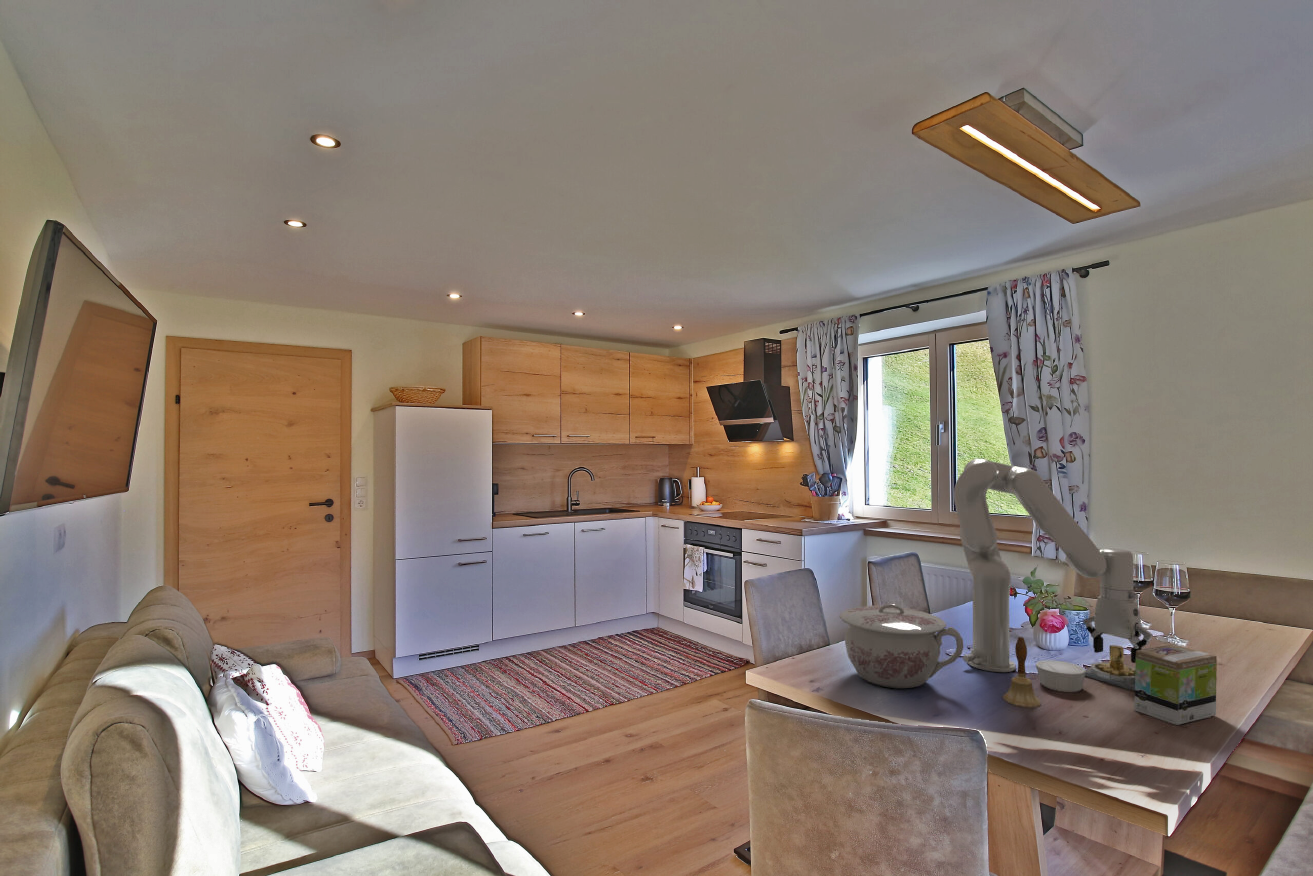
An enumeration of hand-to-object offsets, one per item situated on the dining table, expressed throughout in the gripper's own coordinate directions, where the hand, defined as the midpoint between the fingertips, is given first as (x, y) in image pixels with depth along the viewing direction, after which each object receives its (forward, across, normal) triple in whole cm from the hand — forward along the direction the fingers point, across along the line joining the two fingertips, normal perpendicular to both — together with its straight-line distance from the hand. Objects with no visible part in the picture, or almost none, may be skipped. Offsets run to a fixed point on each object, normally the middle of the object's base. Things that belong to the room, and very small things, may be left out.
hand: (1116, 656), depth 181 cm
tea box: (+6, -20, +13) cm, 24 cm away
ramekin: (+6, +4, +20) cm, 21 cm away
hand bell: (+6, +2, +38) cm, 39 cm away
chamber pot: (+6, +26, +56) cm, 63 cm away
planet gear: (+5, 0, 0) cm, 5 cm away
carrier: (+6, -2, 0) cm, 6 cm away
